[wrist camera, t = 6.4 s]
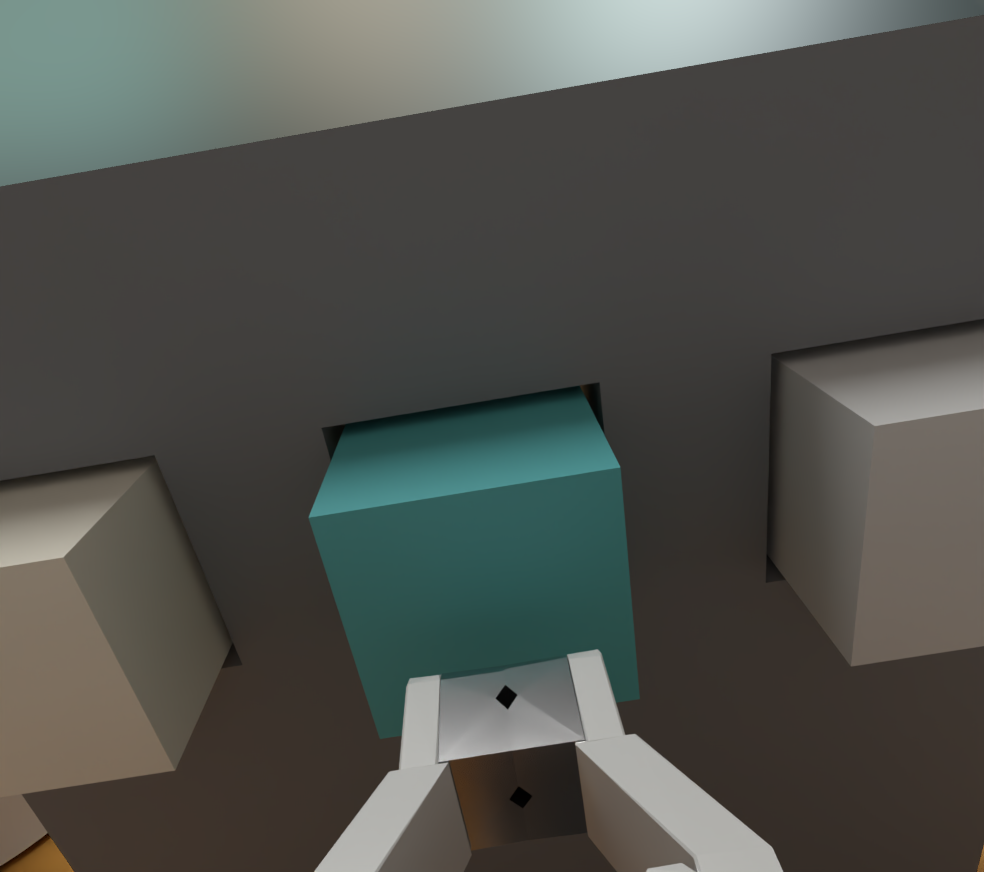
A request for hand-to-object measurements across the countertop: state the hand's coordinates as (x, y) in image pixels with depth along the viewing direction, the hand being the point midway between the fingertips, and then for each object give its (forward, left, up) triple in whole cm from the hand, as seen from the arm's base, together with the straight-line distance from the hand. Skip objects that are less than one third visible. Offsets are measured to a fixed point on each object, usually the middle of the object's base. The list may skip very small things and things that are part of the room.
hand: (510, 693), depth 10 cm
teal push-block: (0, +4, -2) cm, 5 cm away
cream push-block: (-9, +4, -2) cm, 10 cm away
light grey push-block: (+9, +4, -2) cm, 10 cm away
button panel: (0, +6, -18) cm, 19 cm away
